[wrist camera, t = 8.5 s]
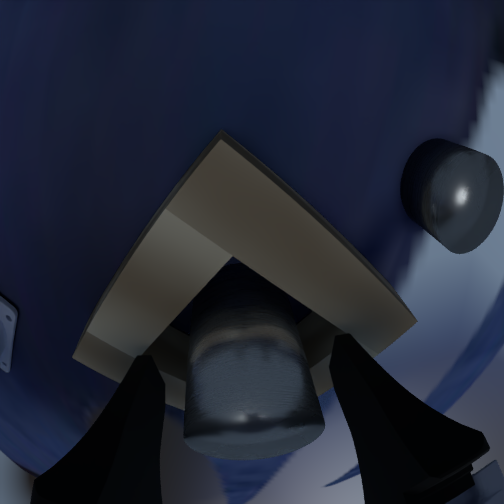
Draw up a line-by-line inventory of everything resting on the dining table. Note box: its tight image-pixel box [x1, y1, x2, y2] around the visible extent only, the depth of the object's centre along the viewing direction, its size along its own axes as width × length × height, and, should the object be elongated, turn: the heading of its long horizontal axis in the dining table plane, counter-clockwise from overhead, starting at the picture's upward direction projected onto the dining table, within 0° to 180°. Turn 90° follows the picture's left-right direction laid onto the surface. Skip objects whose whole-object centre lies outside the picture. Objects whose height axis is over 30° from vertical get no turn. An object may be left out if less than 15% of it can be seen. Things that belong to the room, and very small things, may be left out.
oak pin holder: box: [72, 129, 417, 410], centre depth 12 cm, size 12×12×3 cm
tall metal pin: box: [184, 264, 325, 460], centre depth 11 cm, size 4×4×7 cm
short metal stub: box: [400, 138, 504, 254], centre depth 10 cm, size 4×4×3 cm
